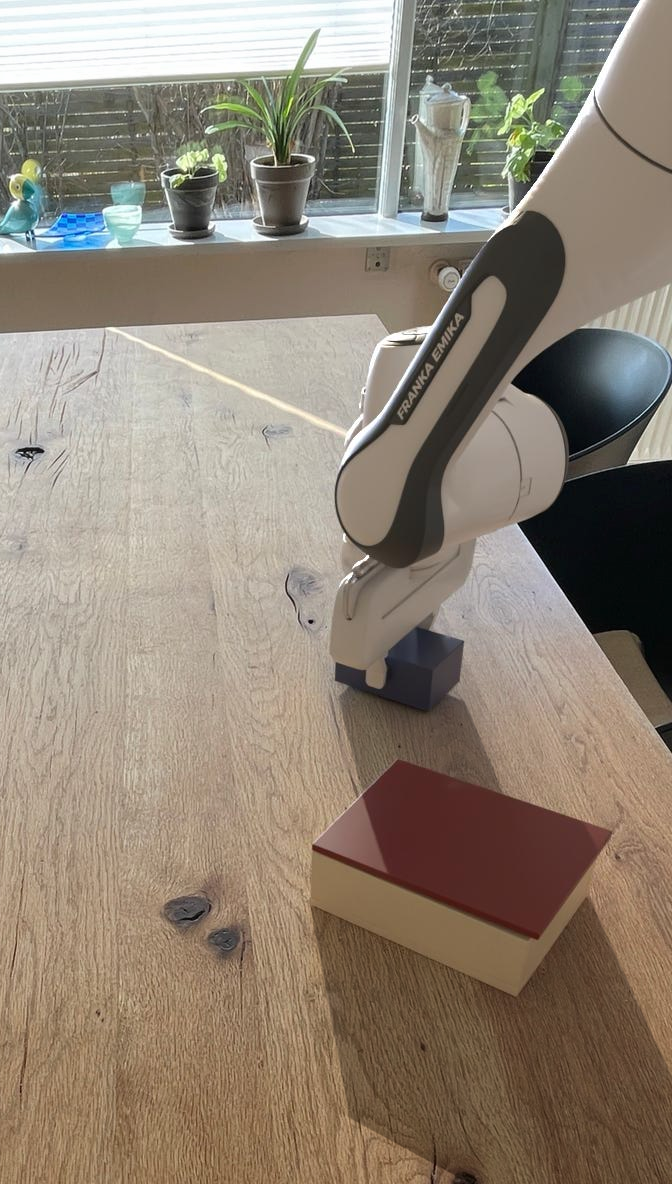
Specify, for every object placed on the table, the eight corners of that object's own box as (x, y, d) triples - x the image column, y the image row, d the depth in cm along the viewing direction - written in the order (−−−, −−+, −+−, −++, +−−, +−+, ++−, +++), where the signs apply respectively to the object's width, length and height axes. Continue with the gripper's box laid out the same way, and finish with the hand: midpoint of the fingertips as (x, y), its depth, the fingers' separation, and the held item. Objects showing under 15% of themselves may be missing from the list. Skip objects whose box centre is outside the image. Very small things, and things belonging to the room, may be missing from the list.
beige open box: (588, 894, 85) (601, 839, 81) (516, 997, 77) (528, 942, 74) (392, 817, 93) (396, 764, 89) (309, 904, 85) (311, 850, 82)
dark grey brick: (459, 681, 107) (464, 640, 104) (428, 712, 103) (432, 670, 100) (367, 652, 112) (369, 612, 109) (334, 681, 108) (335, 640, 105)
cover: (611, 837, 81) (612, 830, 80) (538, 940, 73) (539, 934, 73) (397, 764, 89) (397, 758, 89) (311, 850, 82) (311, 844, 81)
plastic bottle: (385, 596, 121) (399, 406, 108) (328, 583, 124) (335, 396, 111) (409, 571, 125) (425, 385, 112) (353, 559, 128) (363, 376, 115)
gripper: (380, 583, 90) (371, 728, 99) (494, 492, 102) (477, 629, 111) (313, 564, 93) (310, 706, 102) (431, 478, 105) (419, 612, 114)
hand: (398, 665), depth 106 cm, fingers closed on dark grey brick, 6 cm apart
